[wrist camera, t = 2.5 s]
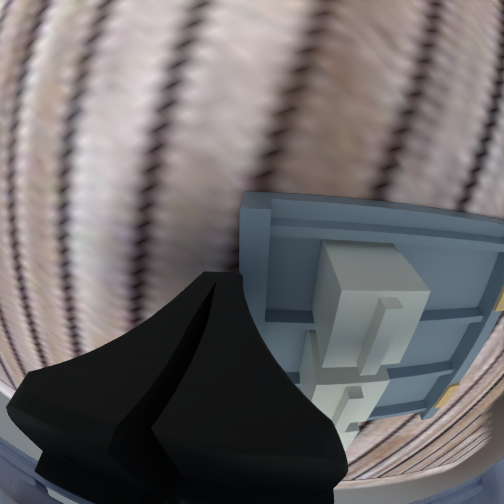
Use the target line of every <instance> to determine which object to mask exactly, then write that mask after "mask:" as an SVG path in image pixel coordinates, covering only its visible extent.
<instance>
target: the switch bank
mask: <svg viewBox="0 0 504 504" xmlns="http://www.w3.org/2000/svg"><path fill="white" fill-rule="evenodd" d="M322 239H331V240H348V241H365V242H380V243H393V244H394V245H395V247H396V248H397V249H398V250H399V251H400V253H401V254H402V255H403V256H404V257H405V259H406V260H407V261H408V262H409V263H410V265H411V266H412V267H413V268H414V270H415V271H416V272H417V273H418V275H419V276H420V277H421V279H422V280H423V281H424V282H425V284H426V285H427V286H428V288H429V289H430V290H431V292H430V295H429V297H428V300H427V303H426V305H425V308H424V310H423V313H422V315H421V317H420V320H419V322H418V324H417V327H416V329H415V331H414V334H413V336H412V338H411V340H410V342H409V344H408V347H407V349H406V351H405V353H404V355H403V357H402V359H401V361H400V363H398V364H387V365H385V367H386V370H387V372H388V375H389V378H390V382H389V383H388V385H387V387H386V389H385V391H384V392H383V394H382V396H381V397H380V399H379V401H378V402H377V404H376V406H375V407H374V409H373V411H372V412H371V414H370V415H369V417H368V418H367V420H374V419H381V418H388V417H394V416H400V415H406V414H411V413H416V412H419V414H420V417H421V420H424V419H428V418H432V417H433V416H434V415H435V414H436V412H437V411H438V410H439V409H440V407H442V406H444V405H445V404H446V403H447V401H448V400H449V399H450V397H451V396H452V395H453V393H454V392H455V391H456V389H457V388H458V387H459V385H460V384H459V382H460V381H461V379H462V378H463V376H464V375H465V374H466V372H467V371H468V369H469V368H470V366H471V364H472V363H473V361H474V360H475V358H476V357H477V355H478V353H479V352H480V350H481V348H482V347H483V345H484V343H485V341H486V340H487V338H488V336H489V334H490V333H491V331H492V329H493V327H494V325H495V323H496V321H497V319H498V317H499V315H500V313H501V311H504V220H502V219H497V218H492V217H486V216H481V215H475V214H470V213H464V212H458V211H452V210H445V209H439V208H432V207H425V206H418V205H410V204H402V203H394V202H385V201H376V200H367V199H357V198H346V197H334V196H322V195H308V194H292V193H274V192H251V191H245V193H244V196H243V199H242V203H241V206H240V228H239V273H240V274H241V275H242V276H243V291H244V295H245V299H246V302H247V305H248V308H249V311H250V313H251V316H252V318H253V320H254V323H255V325H256V327H257V329H258V331H259V333H260V335H261V337H262V339H263V340H264V342H265V344H266V346H267V347H268V349H269V350H270V352H271V353H272V355H273V356H274V358H275V360H276V361H277V362H278V364H279V365H280V366H281V367H282V369H283V370H284V371H285V373H286V374H287V375H288V376H289V378H290V379H291V380H292V381H293V383H294V384H295V385H296V386H297V387H298V388H300V375H299V367H300V363H301V358H302V353H303V348H304V343H305V338H306V333H307V330H315V324H314V319H313V313H312V308H311V306H312V300H313V294H314V288H315V282H316V275H317V269H318V262H319V255H320V248H321V241H322Z"/></svg>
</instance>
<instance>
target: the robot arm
mask: <svg viewBox="0 0 504 504" xmlns="http://www.w3.org/2000/svg"><path fill="white" fill-rule="evenodd" d="M6 409H7V412H8V415H9V417H10V418H11V420H12V421H13V422H14V423H15V425H16V426H17V427H18V428H19V429H20V430H21V431H22V432H23V433H24V434H25V435H26V436H28V438H29V439H30V440H31V441H33V443H35V444H36V445H37V446H38V447H39V448H40V449H41V450H42V451H43V453H42V455H41V457H40V459H39V461H37V460H35V459H34V458H32V457H30V456H29V455H27V454H26V453H24V452H23V451H21V450H19V449H18V448H16V447H15V446H13V445H12V444H10V443H9V442H7V441H6V440H5V439H3V438H2V437H0V504H63V503H61V502H60V501H58V500H56V499H54V498H52V497H51V496H50V495H49V494H48V490H47V488H46V487H48V488H50V489H51V490H53V491H55V492H57V493H59V494H60V495H62V496H64V497H66V498H68V499H70V500H72V501H74V502H76V503H79V504H334V493H333V488H334V487H335V486H336V485H337V484H338V483H339V482H340V481H341V480H342V479H343V478H344V477H345V476H346V474H347V472H348V462H347V458H346V454H345V451H344V447H343V444H342V442H341V439H340V436H339V434H338V432H337V430H336V427H335V425H334V423H333V421H332V420H331V419H330V418H328V417H327V416H326V415H325V414H324V413H323V412H322V411H321V410H319V409H318V408H317V407H316V406H315V405H314V404H313V403H312V402H311V401H310V400H309V399H308V398H307V397H306V396H305V395H304V394H303V393H302V392H301V390H300V389H299V388H298V387H297V386H296V385H295V384H294V383H293V381H292V380H291V379H290V378H289V376H288V375H287V374H286V373H285V371H284V370H283V369H282V367H281V366H280V365H279V364H278V362H277V361H276V360H275V358H274V356H273V355H272V353H271V352H270V350H269V349H268V347H267V346H266V344H265V342H264V340H263V339H262V337H261V335H260V333H259V331H258V329H257V327H256V325H255V323H254V320H253V318H252V316H251V313H250V311H249V308H248V305H247V302H246V299H245V295H244V291H243V276H242V275H241V274H240V273H229V272H203V273H202V274H201V275H200V276H198V277H197V278H196V279H195V280H194V281H193V282H192V283H191V284H190V285H189V286H188V287H186V288H185V289H184V290H183V291H182V292H181V293H180V294H179V295H177V296H176V297H175V298H174V299H173V300H172V301H171V302H169V303H168V304H167V305H166V306H164V307H163V308H162V309H160V310H159V311H158V312H157V313H155V314H154V315H153V316H152V317H150V318H149V319H147V320H146V321H144V322H143V323H142V324H140V325H139V326H137V327H135V328H134V329H132V330H131V331H129V332H127V333H126V334H124V335H122V336H120V337H118V338H117V339H115V340H113V341H111V342H109V343H107V344H105V345H103V346H101V347H99V348H97V349H95V350H93V351H91V352H88V353H86V354H84V355H81V356H79V357H76V358H73V359H71V360H68V361H65V362H62V363H59V364H56V365H52V366H49V367H45V368H42V369H38V370H35V371H30V372H28V373H27V375H26V377H25V378H24V380H23V381H22V383H21V384H20V386H19V387H18V389H17V390H16V392H15V393H14V395H13V397H12V398H11V400H10V402H9V403H8V405H7V406H6ZM45 486H46V487H45ZM409 504H504V458H502V459H501V460H499V461H497V462H496V463H494V464H493V465H492V466H490V467H489V468H487V469H486V470H485V471H484V472H483V473H482V474H481V475H479V476H477V477H475V478H473V479H471V480H469V481H466V482H464V483H462V484H460V485H457V486H455V487H453V488H451V489H448V490H446V491H443V492H441V493H438V494H435V495H433V496H430V497H427V498H424V499H421V500H418V501H415V502H412V503H409Z"/></svg>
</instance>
